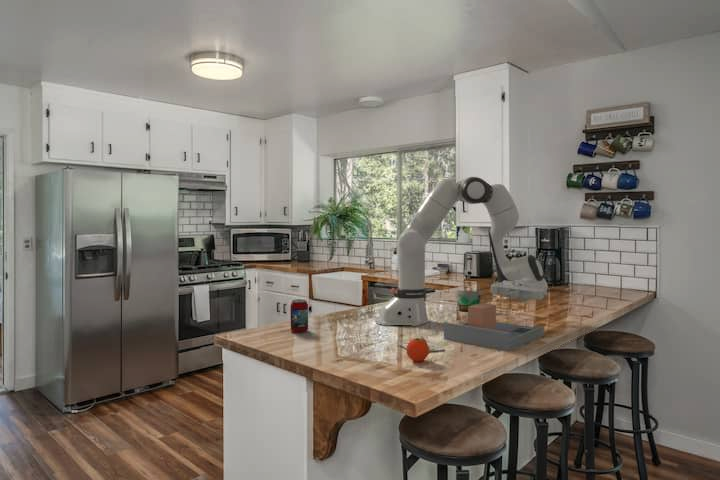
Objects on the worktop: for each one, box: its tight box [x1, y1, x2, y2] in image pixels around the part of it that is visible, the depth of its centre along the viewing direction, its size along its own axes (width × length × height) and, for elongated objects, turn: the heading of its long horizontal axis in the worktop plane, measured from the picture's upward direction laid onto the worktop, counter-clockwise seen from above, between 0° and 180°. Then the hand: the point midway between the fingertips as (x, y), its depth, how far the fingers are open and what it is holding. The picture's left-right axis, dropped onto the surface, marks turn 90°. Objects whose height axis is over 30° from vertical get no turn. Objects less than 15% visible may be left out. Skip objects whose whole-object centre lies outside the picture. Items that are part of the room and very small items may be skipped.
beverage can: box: [290, 298, 309, 334], centre depth 188 cm, size 7×7×12 cm
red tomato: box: [405, 337, 430, 362], centre depth 149 cm, size 8×7×7 cm
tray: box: [443, 321, 545, 352], centre depth 178 cm, size 29×25×6 cm
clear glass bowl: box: [397, 335, 446, 353], centre depth 164 cm, size 12×12×5 cm
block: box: [467, 302, 497, 330], centre depth 174 cm, size 10×6×10 cm, turn 137°
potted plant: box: [455, 289, 483, 313], centre depth 228 cm, size 12×6×10 cm, turn 68°
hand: (507, 293), depth 185 cm, fingers closed
